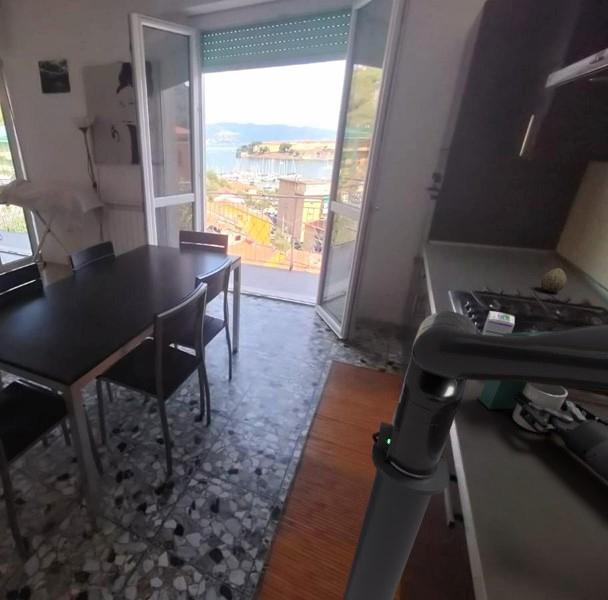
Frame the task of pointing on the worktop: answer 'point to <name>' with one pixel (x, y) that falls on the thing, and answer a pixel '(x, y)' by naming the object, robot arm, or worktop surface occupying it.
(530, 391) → the cup
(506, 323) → the syrup box
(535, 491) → the worktop surface
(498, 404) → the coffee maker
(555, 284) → the decorative egg
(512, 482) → the worktop surface
